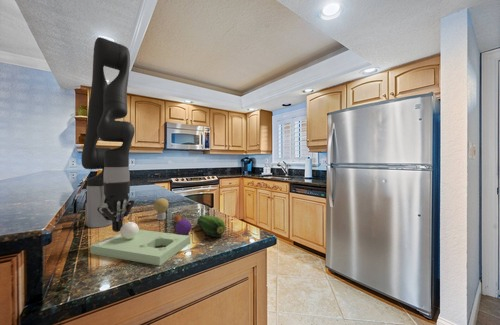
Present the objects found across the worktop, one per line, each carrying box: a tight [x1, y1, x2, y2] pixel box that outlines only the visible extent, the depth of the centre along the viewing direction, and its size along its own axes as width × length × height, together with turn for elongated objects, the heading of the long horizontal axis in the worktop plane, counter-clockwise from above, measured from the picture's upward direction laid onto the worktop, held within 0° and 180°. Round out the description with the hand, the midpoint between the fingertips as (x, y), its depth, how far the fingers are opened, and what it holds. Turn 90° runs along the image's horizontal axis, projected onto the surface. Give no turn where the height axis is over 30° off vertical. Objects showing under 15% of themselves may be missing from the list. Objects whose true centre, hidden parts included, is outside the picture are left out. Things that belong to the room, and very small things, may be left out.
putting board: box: [89, 229, 191, 266], centre depth 71 cm, size 25×16×3 cm, turn 75°
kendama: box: [173, 214, 193, 236], centre depth 90 cm, size 6×6×20 cm
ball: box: [119, 221, 140, 239], centre depth 72 cm, size 6×6×6 cm
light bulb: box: [153, 197, 169, 221], centre depth 102 cm, size 6×6×10 cm
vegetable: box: [196, 214, 226, 238], centre depth 88 cm, size 7×7×20 cm
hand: (117, 231), depth 73 cm, fingers closed
